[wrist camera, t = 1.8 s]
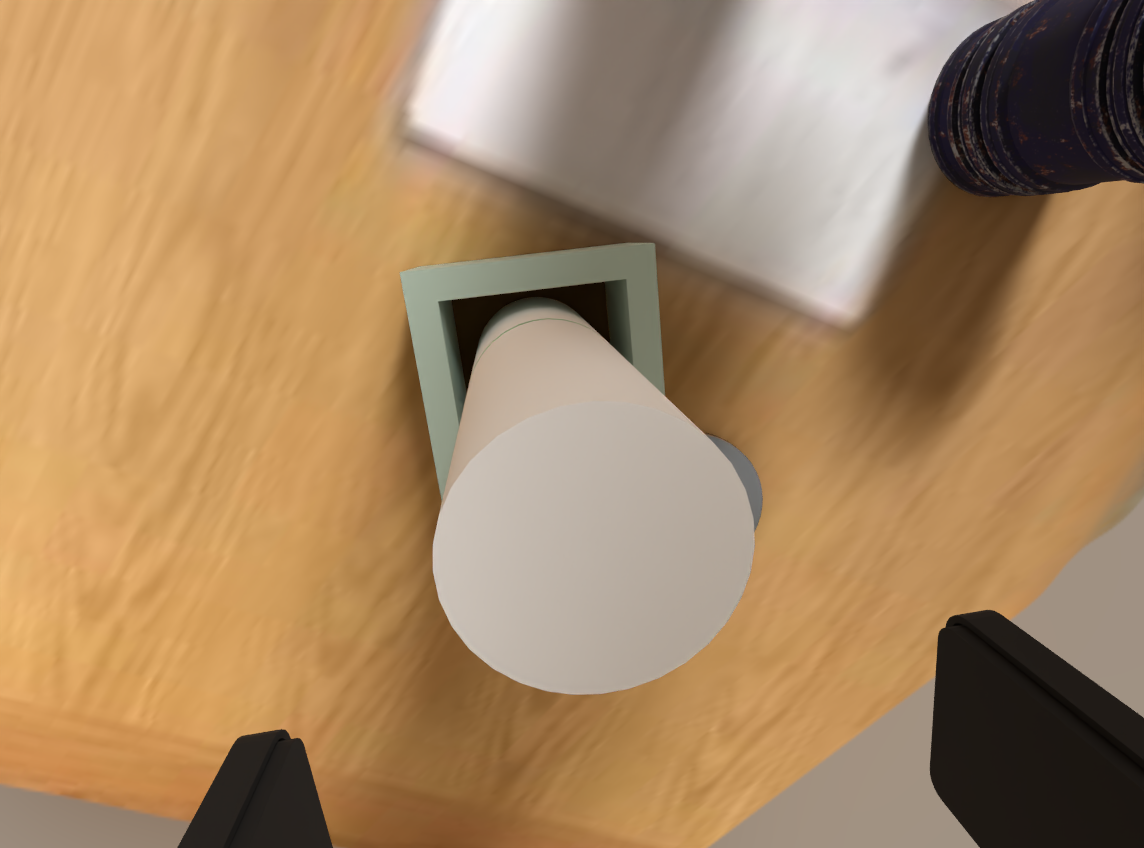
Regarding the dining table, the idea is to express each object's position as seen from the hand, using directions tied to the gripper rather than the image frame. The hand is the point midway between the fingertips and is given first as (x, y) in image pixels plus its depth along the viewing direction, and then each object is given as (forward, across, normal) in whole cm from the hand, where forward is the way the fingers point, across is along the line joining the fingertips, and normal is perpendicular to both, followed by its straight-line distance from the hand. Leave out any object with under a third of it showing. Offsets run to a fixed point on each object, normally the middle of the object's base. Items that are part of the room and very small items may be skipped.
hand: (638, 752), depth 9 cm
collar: (+30, 0, -1) cm, 30 cm away
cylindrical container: (+30, 0, -1) cm, 30 cm away
